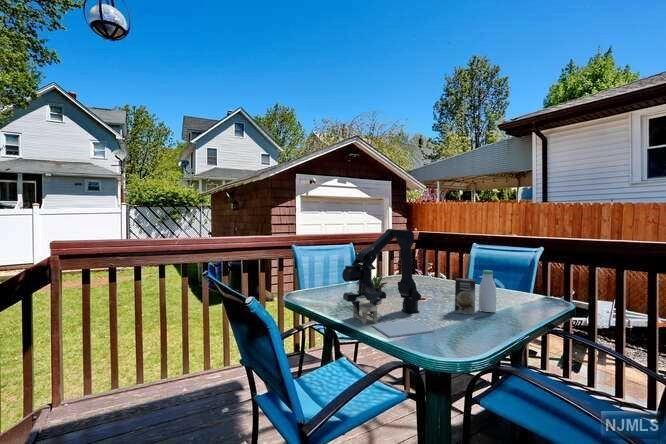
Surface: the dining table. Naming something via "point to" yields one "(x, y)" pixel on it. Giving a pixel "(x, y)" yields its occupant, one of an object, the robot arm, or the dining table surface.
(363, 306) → the stool
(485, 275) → the milk bottle
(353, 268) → the robot arm
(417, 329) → the mat
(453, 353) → the dining table surface
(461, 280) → the coffee box
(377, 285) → the house plant
